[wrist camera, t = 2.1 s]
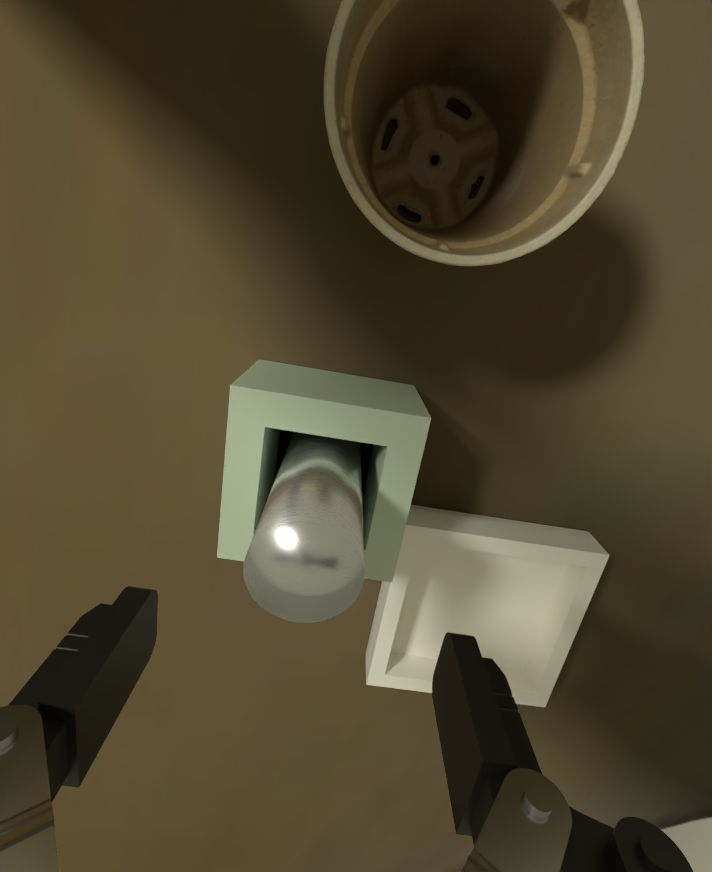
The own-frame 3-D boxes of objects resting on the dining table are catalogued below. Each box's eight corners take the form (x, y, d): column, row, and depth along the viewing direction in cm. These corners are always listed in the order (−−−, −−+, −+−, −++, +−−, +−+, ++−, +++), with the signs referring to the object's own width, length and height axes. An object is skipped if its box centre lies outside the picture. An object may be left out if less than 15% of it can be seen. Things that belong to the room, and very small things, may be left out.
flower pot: (552, 45, 20) (689, -112, 12) (516, 273, 23) (604, 273, 15) (339, 33, 20) (327, -136, 12) (332, 263, 23) (320, 259, 15)
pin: (287, 470, 27) (238, 614, 15) (296, 406, 25) (248, 512, 14) (354, 480, 27) (353, 629, 16) (366, 417, 26) (374, 531, 14)
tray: (365, 653, 31) (366, 684, 29) (400, 502, 27) (404, 524, 25) (531, 675, 32) (545, 707, 30) (588, 531, 28) (609, 555, 26)
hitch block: (245, 498, 27) (216, 557, 22) (259, 359, 24) (230, 385, 19) (384, 519, 28) (392, 582, 22) (414, 385, 25) (431, 418, 19)
